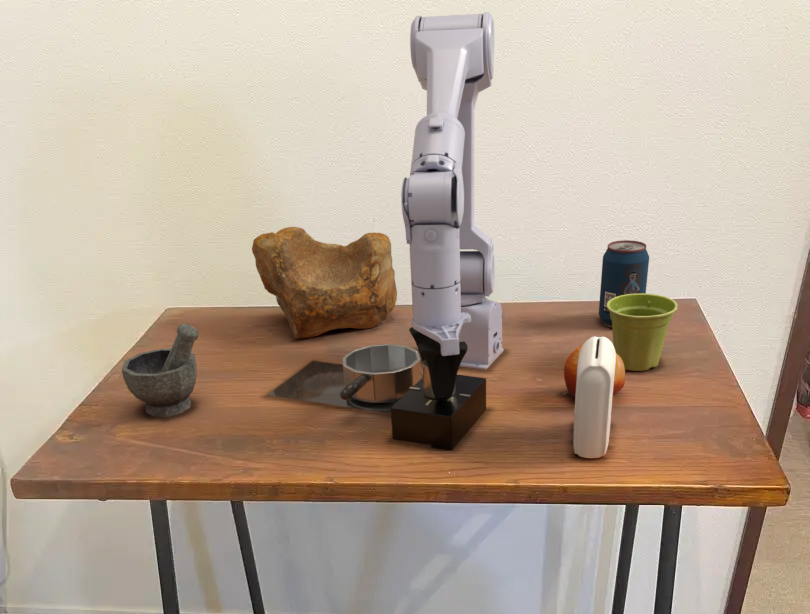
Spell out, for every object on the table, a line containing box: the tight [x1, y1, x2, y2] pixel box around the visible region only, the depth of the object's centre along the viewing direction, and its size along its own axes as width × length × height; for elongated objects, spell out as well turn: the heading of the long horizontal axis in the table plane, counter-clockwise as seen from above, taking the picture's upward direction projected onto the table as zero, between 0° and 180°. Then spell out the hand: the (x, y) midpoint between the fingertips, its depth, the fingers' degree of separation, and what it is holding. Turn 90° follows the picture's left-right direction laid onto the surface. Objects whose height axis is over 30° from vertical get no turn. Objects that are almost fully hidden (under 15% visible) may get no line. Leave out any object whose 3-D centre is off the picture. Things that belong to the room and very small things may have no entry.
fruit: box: [562, 344, 626, 398], centre depth 115 cm, size 8×8×8 cm
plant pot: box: [607, 293, 678, 372], centre depth 122 cm, size 9×9×9 cm
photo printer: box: [572, 335, 616, 459], centre depth 103 cm, size 10×4×12 cm, turn 167°
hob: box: [267, 360, 423, 415], centre depth 123 cm, size 21×13×1 cm, turn 65°
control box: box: [390, 374, 487, 451], centre depth 110 cm, size 12×8×5 cm
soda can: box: [598, 239, 650, 328], centre depth 136 cm, size 7×7×12 cm
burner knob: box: [421, 360, 456, 399], centre depth 108 cm, size 4×4×4 cm
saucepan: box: [340, 343, 422, 404], centre depth 117 cm, size 16×10×5 cm, turn 155°
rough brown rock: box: [251, 226, 398, 340], centre depth 140 cm, size 23×17×15 cm
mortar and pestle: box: [121, 323, 199, 418], centre depth 117 cm, size 11×9×12 cm
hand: (439, 390), depth 109 cm, fingers closed on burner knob, 4 cm apart
